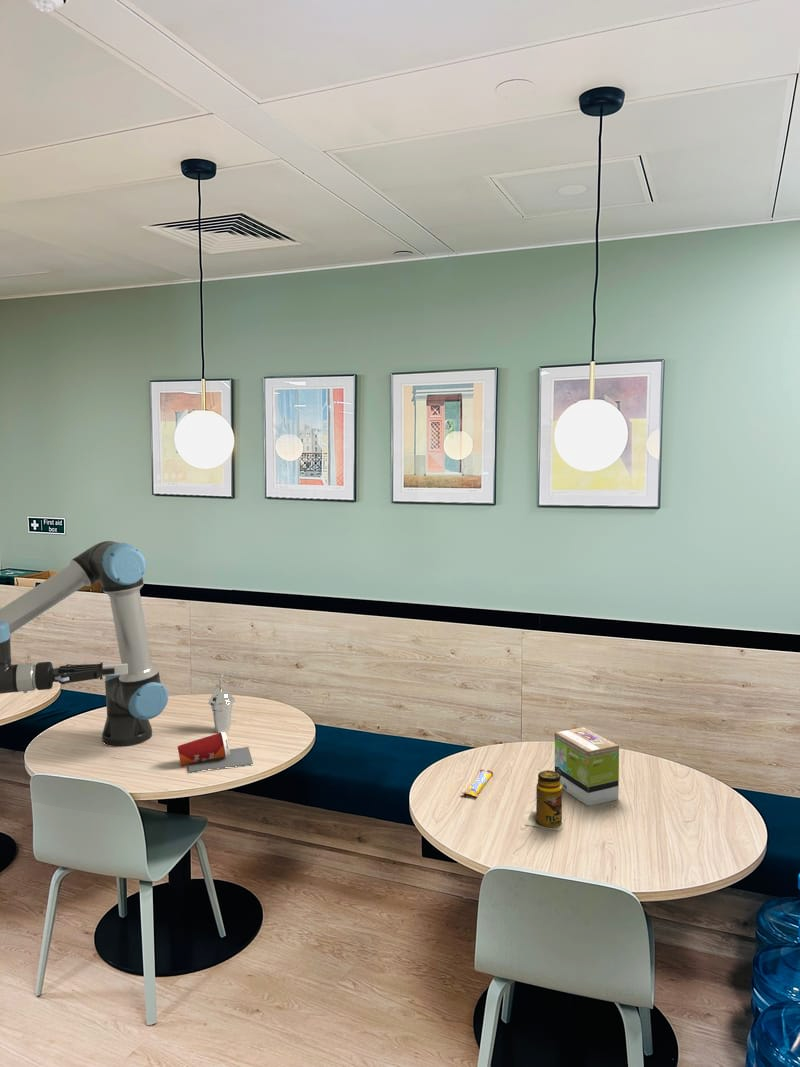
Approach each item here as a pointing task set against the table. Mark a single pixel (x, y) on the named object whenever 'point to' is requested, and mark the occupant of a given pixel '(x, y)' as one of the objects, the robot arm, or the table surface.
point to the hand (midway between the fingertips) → (127, 668)
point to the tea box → (587, 765)
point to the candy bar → (479, 783)
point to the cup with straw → (222, 707)
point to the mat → (224, 761)
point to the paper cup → (204, 749)
